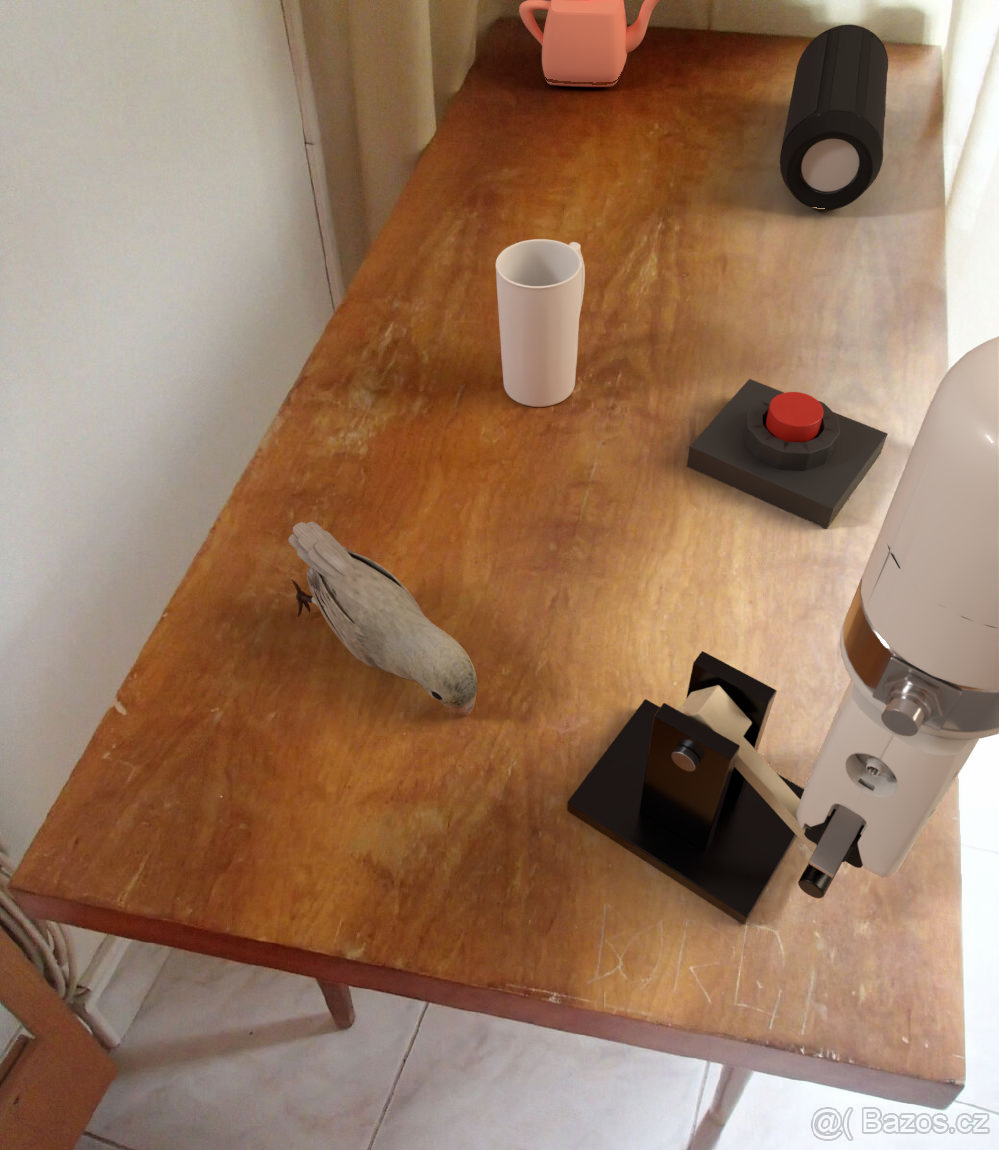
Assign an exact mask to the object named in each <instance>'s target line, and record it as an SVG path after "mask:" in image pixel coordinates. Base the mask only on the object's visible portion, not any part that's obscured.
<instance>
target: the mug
mask: <svg viewBox="0 0 999 1150" xmlns="http://www.w3.org/2000/svg"><path fill="white" fill-rule="evenodd" d="M581 247H582V246H581V243H579V242H576V241H571V242H569V244H567V243H566V242H562V241H559V240H554V239H547V238H536V239H528V240H522V241H519V242H516V243H513V244H511V245H509V246H508V247H506V248H505V249H503V250H502V251H501V252H500V253H499V254H498V256H497V258H496V260H495V271H496V272H495V274H496V275H495V276H496V292H497V293H496V295H497V309H498V324H499V325H498V327H499V338H500V339H499V341H500V353H501V354H500V355H501V357H500V358H501V366H502V367H501V368H502V379H503V381H502V383H503V388H504V391H505V393H506V395H507V396H508V397H509V398H511V399H512V400H513V401H514V402H516V403H518V404H521V405H524V406H528V407H535V408H542V407H543V408H544V407H551V406H554V405H557V404H559V403H561V402H563V401H565V400H566V399H567V398H568V397H570V396H571V395H572V393H573V391H574V389H575V386H576V375H577V365H578V362H577V361H578V347H579V327H580V316H581V311H582V306H583V299H584V293H585V284H586V270H585V269H586V267H585V262H584V258H583V254H582V251H581Z"/></svg>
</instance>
